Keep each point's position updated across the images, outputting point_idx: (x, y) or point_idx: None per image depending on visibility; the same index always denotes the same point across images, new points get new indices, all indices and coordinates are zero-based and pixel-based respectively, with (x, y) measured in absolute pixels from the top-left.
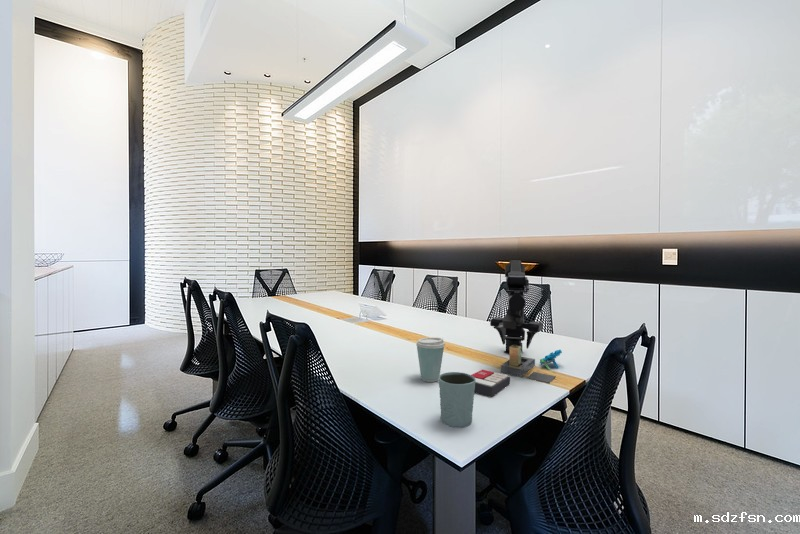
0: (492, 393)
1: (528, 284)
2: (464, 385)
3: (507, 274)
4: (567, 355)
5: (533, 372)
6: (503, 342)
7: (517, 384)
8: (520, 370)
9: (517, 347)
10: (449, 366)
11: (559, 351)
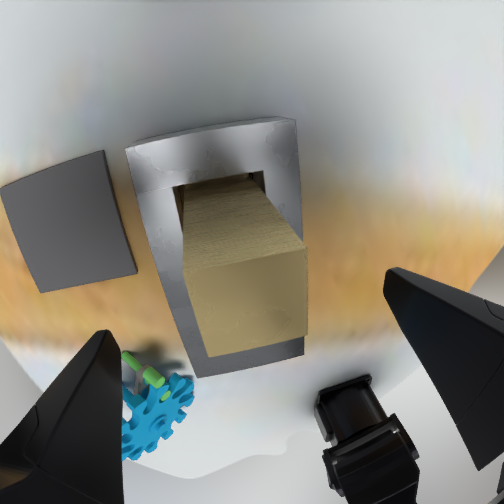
0: None
1: None
2: None
3: None
4: (191, 462)
5: (128, 261)
6: (404, 277)
7: (97, 24)
8: (134, 145)
9: (211, 295)
10: (481, 65)
11: None
